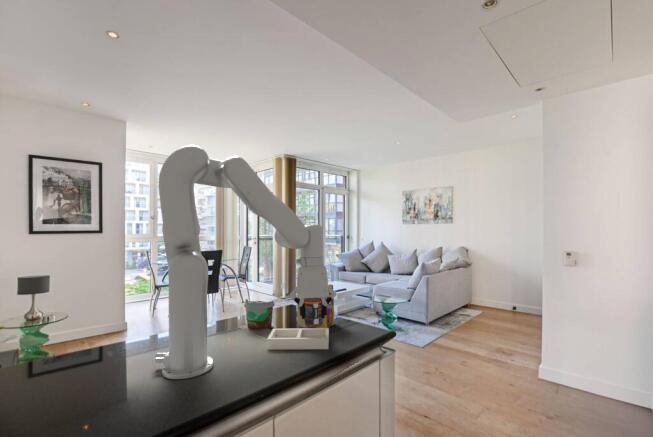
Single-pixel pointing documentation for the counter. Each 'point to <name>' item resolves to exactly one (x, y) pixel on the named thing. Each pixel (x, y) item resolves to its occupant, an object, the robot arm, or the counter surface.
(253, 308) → the food container
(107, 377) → the counter surface
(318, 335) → the holder
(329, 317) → the candy box
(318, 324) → the supplement bottle
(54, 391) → the counter surface
